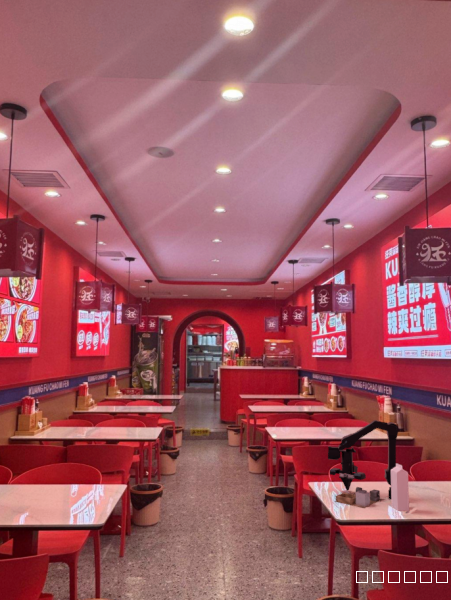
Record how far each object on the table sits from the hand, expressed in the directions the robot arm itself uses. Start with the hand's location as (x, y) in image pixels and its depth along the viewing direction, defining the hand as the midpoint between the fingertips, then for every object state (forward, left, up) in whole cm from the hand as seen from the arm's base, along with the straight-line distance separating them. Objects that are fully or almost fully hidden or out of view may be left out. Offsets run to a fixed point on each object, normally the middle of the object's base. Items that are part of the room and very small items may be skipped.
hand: (347, 490), depth 254 cm
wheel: (-8, 0, -2) cm, 8 cm away
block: (-15, +13, -2) cm, 20 cm away
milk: (-31, +6, -3) cm, 32 cm away
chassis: (-10, +7, -3) cm, 12 cm away
